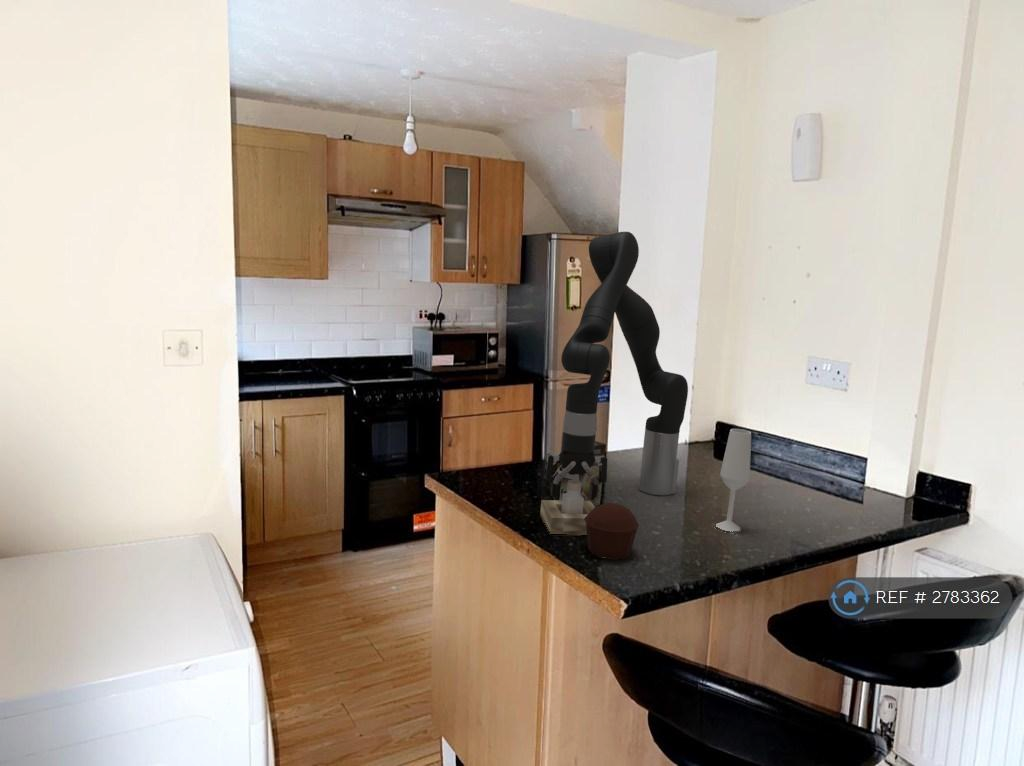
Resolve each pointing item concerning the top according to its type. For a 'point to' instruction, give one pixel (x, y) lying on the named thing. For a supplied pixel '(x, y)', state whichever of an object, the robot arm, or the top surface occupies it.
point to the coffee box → (586, 478)
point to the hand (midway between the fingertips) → (573, 499)
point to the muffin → (611, 530)
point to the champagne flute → (735, 470)
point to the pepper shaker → (572, 498)
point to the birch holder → (564, 518)
